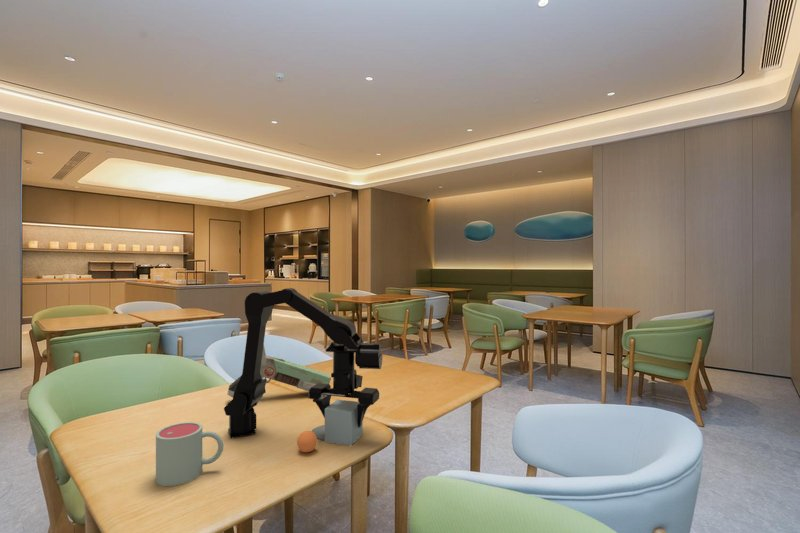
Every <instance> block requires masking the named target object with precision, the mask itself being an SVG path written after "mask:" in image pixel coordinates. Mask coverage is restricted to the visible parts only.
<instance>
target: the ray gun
mask: <svg viewBox="0 0 800 533" xmlns="http://www.w3.org/2000/svg"><path fill="white" fill-rule="evenodd" d="M260 375H261V377H262V379H268V380H267V382H266V384H268V383H270V381H275V382H276V381H277V382H278V383H282V384H285V385H288V386H293V387H295V388H297V389H301V390H304V391H307V392H309V389H310V388H311V387H313V386H315V385H316V384H318V383H323V384H330V383H331V380H332V377H331V375H330V374H329V373H326V372H324V371H320V370H316V369H314V368H310V367H307V366H304V365H301V364H297V363H294V362H291V361H290V360H286V359H283V358H279V357H276V356H270V355H266V349H265V344H264V345H263V353H262V361H261V369H260ZM240 377H241V375H240V376H239V377H238V378H237V379H235V380H234V381H233V382H231V383H230V385H229V386H228V390H227V394H226V395H227V396H229V397H230V398H233V395H234V391H235V388H236V385H237V383H238V381H239V379H240Z"/></svg>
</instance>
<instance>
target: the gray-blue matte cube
mask: <svg viewBox="0 0 800 533" xmlns="http://www.w3.org/2000/svg"><path fill="white" fill-rule="evenodd" d="M358 404H359V401H355V400H346V399H344V400H343V399H336V400H335V401H334V402H332V403H330V405H329V406H328V407H327V408H325V418H324V425H325V440H324V443H329V444H335V443H336V444H337V445H343V446H350V445H352V444H353V443H354V442H356V441H358V440H359V438H360V437H361V436H362V435H363V430H364V428H363V424H364V423H363V421H364V420H363V421H362V424H361V427H360V428H358V423H357V405H358ZM354 444H355V443H354ZM354 444H353V445H354ZM353 445H352V446H353Z"/></svg>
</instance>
